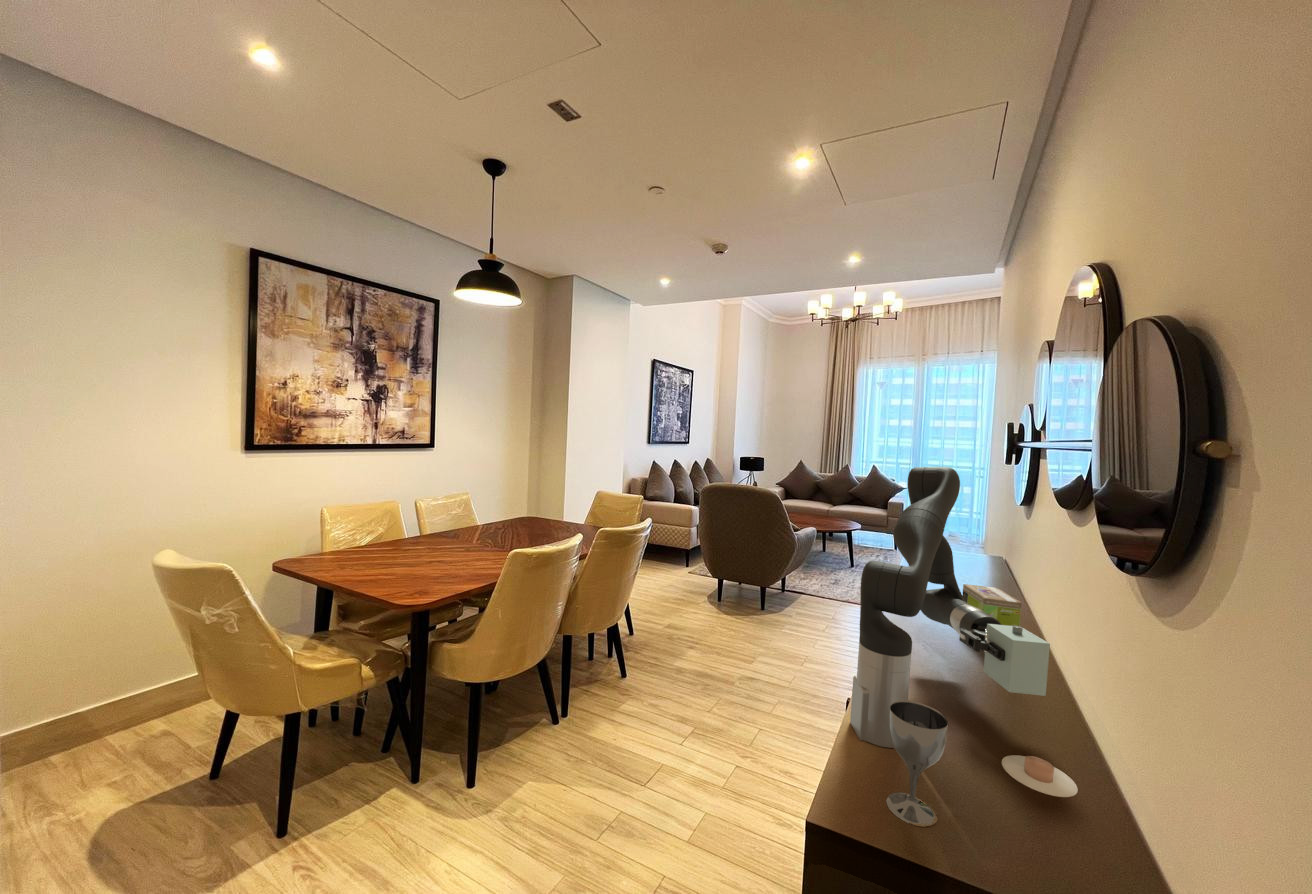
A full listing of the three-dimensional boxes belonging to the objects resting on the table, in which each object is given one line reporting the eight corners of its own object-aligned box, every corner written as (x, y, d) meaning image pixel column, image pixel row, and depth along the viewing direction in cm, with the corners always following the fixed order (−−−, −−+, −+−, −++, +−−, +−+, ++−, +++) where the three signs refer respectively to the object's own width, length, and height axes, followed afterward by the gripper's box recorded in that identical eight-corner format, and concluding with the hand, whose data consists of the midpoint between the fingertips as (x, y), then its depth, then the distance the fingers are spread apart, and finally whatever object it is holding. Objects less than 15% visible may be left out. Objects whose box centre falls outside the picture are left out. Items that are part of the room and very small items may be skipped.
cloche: (1008, 692, 96) (1013, 633, 95) (983, 671, 104) (987, 617, 104) (1045, 695, 95) (1050, 637, 95) (1016, 674, 103) (1021, 621, 103)
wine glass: (922, 791, 82) (928, 701, 81) (952, 830, 74) (960, 730, 73) (874, 790, 81) (880, 699, 81) (899, 828, 73) (906, 728, 73)
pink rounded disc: (1033, 781, 85) (1034, 769, 84) (1018, 765, 89) (1019, 754, 88) (1058, 784, 84) (1059, 772, 84) (1042, 768, 88) (1043, 757, 88)
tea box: (1019, 654, 140) (1023, 602, 139) (979, 649, 142) (983, 597, 141) (994, 633, 154) (997, 586, 154) (958, 629, 156) (961, 582, 156)
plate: (1025, 797, 82) (1026, 792, 82) (988, 756, 92) (989, 752, 92) (1093, 805, 81) (1094, 800, 81) (1049, 763, 91) (1049, 758, 91)
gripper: (944, 606, 114) (985, 635, 98) (1010, 612, 113) (1064, 642, 96) (941, 639, 114) (982, 673, 98) (1007, 645, 113) (1061, 681, 97)
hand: (1023, 658), depth 97 cm, fingers closed on cloche, 6 cm apart
